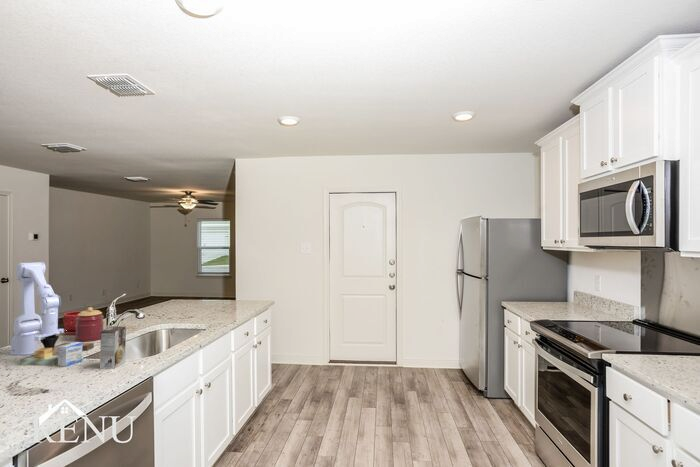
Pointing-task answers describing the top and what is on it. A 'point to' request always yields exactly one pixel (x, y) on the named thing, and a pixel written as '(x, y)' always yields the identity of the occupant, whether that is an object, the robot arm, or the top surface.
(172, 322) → the top surface
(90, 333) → the canister
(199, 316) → the top surface
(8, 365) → the top surface
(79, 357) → the medicine box
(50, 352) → the block
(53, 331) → the robot arm
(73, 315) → the plant pot
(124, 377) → the top surface
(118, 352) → the coffee box
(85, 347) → the wooden slab structure
